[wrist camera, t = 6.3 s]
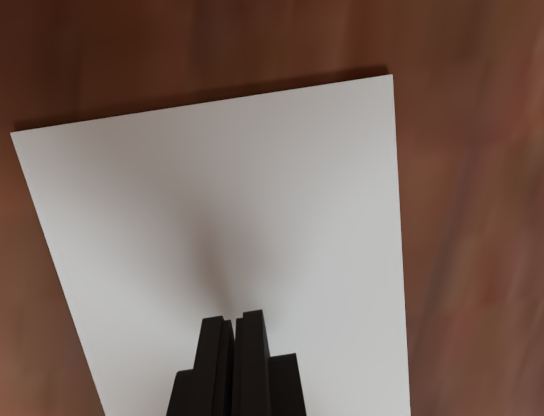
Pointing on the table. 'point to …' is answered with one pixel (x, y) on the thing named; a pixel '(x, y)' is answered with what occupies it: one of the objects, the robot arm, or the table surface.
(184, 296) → the plate
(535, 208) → the table surface
